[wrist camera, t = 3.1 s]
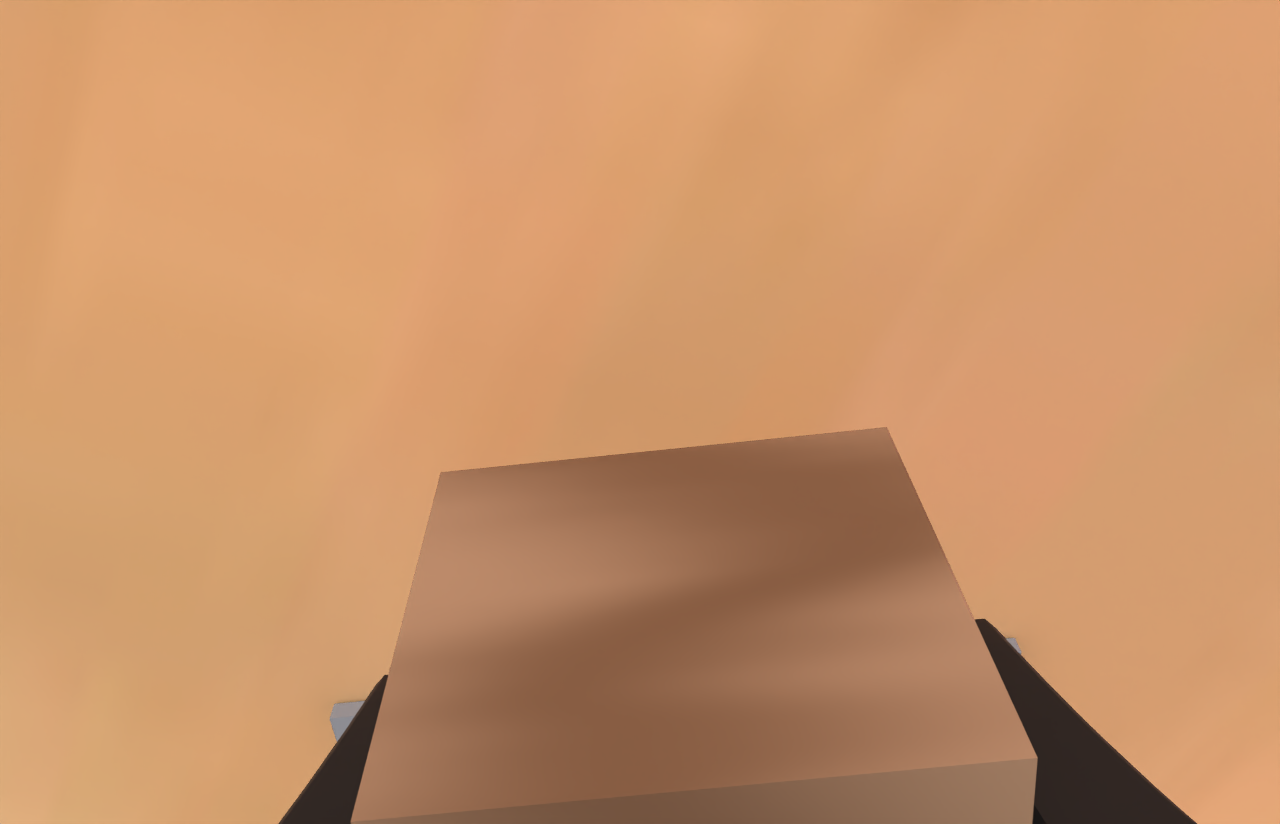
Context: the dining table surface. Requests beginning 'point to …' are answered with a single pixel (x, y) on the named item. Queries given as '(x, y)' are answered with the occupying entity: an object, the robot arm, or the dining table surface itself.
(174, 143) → the dining table surface
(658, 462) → the walnut block
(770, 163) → the dining table surface
